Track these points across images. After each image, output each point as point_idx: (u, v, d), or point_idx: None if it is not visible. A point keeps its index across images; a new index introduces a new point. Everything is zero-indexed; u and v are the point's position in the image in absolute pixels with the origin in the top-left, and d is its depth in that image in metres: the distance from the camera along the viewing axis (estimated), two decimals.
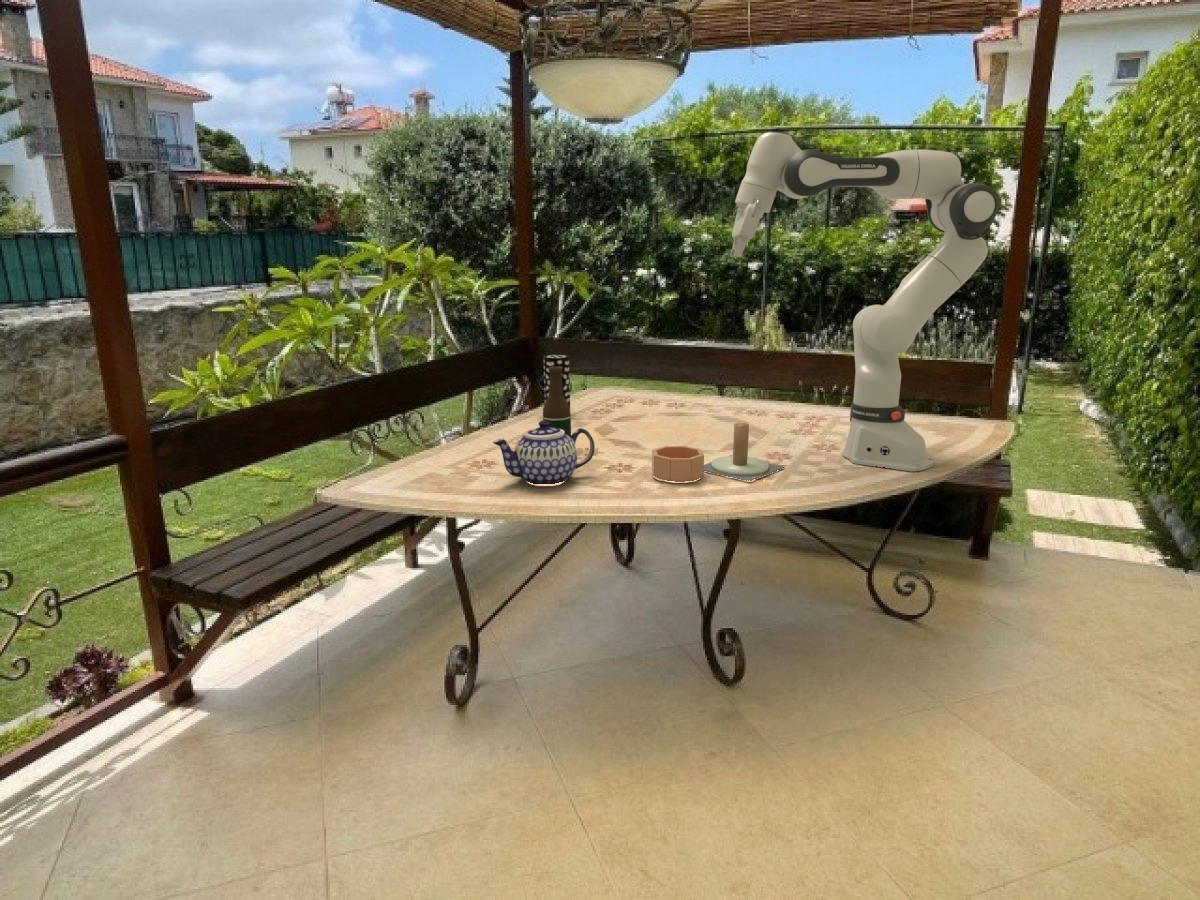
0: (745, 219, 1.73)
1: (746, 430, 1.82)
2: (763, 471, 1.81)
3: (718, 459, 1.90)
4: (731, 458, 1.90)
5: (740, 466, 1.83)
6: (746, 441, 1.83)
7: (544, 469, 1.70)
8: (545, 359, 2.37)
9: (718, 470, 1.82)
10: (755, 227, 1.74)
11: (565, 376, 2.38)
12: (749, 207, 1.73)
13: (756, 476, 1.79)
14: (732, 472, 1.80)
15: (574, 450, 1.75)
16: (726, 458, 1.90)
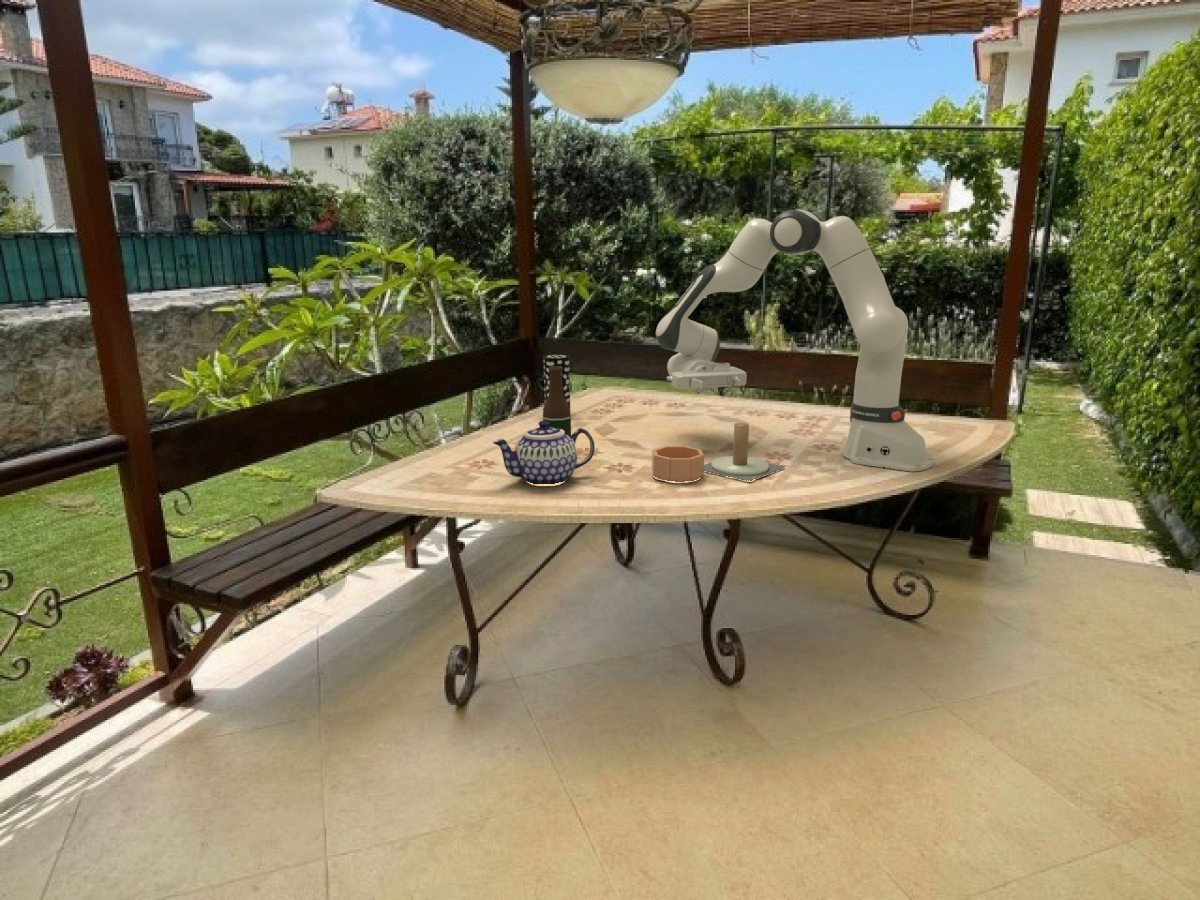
0: (673, 385, 1.98)
1: (746, 430, 1.82)
2: (763, 471, 1.81)
3: (718, 459, 1.89)
4: (731, 458, 1.90)
5: (740, 466, 1.83)
6: (746, 441, 1.83)
7: (544, 469, 1.70)
8: (545, 359, 2.37)
9: (718, 470, 1.82)
10: (674, 376, 1.96)
11: (565, 376, 2.38)
12: None
13: (756, 476, 1.79)
14: (732, 472, 1.80)
15: (574, 450, 1.75)
16: (726, 458, 1.90)
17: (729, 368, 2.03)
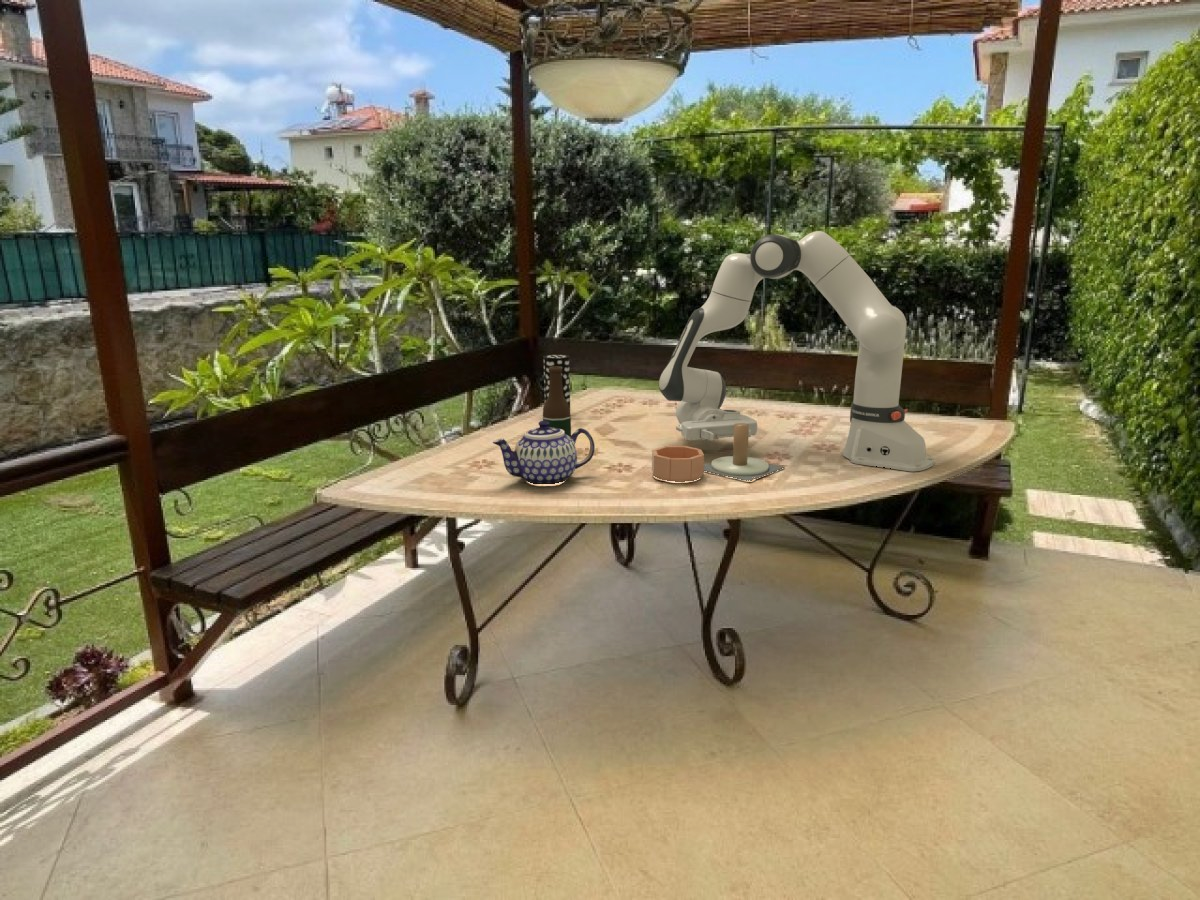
0: (683, 436, 1.95)
1: (746, 430, 1.82)
2: (763, 471, 1.81)
3: (718, 459, 1.90)
4: (731, 458, 1.90)
5: (740, 466, 1.83)
6: (746, 441, 1.83)
7: (544, 469, 1.70)
8: (545, 359, 2.37)
9: (718, 470, 1.82)
10: (684, 427, 1.93)
11: (565, 376, 2.38)
12: None
13: (756, 476, 1.79)
14: (732, 472, 1.80)
15: (574, 450, 1.75)
16: (726, 458, 1.90)
17: (739, 416, 2.00)
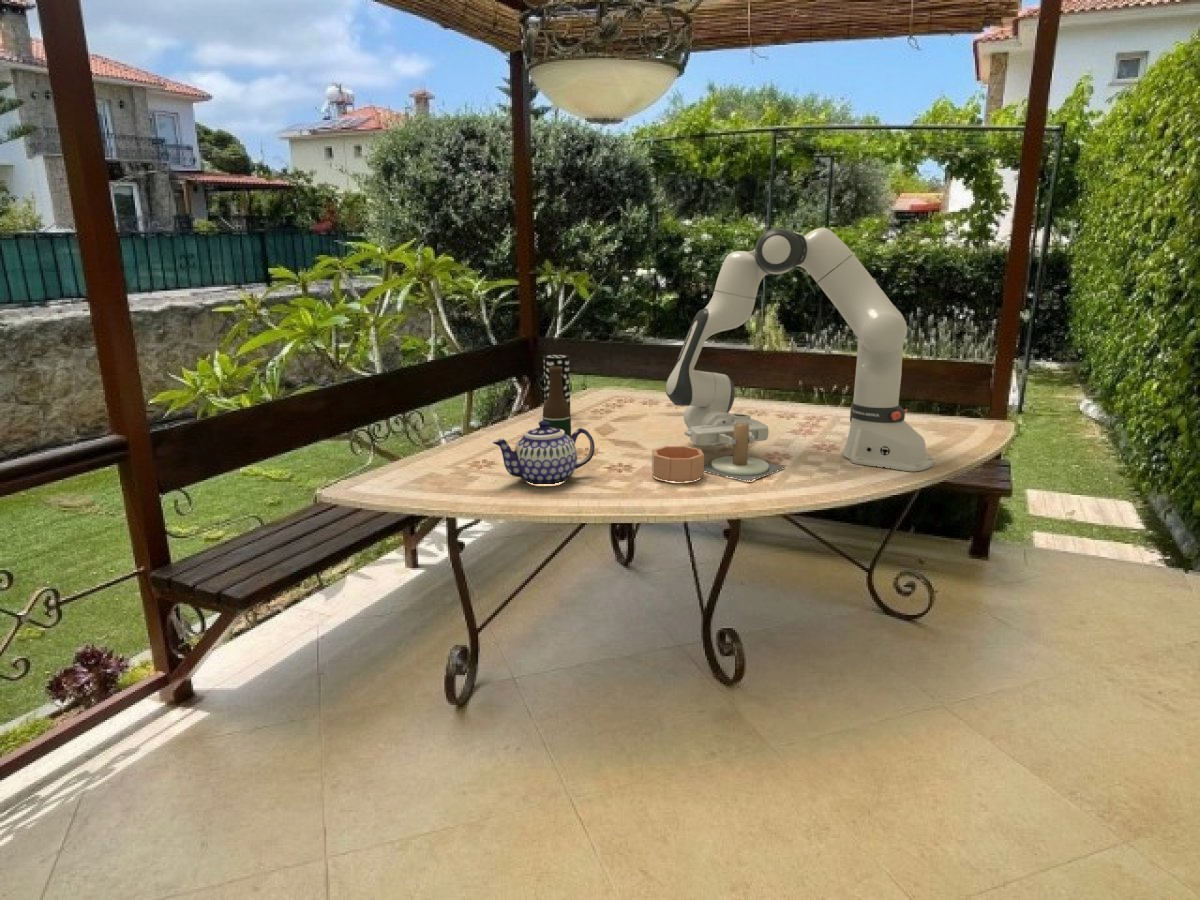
0: (692, 441, 1.89)
1: (746, 430, 1.82)
2: (763, 471, 1.81)
3: (718, 459, 1.90)
4: (731, 458, 1.90)
5: (740, 466, 1.83)
6: (746, 441, 1.83)
7: (544, 469, 1.70)
8: (545, 359, 2.37)
9: (718, 470, 1.82)
10: (693, 432, 1.87)
11: (565, 376, 2.38)
12: None
13: (756, 476, 1.79)
14: (732, 472, 1.80)
15: (574, 450, 1.75)
16: (726, 458, 1.90)
17: (750, 421, 1.94)
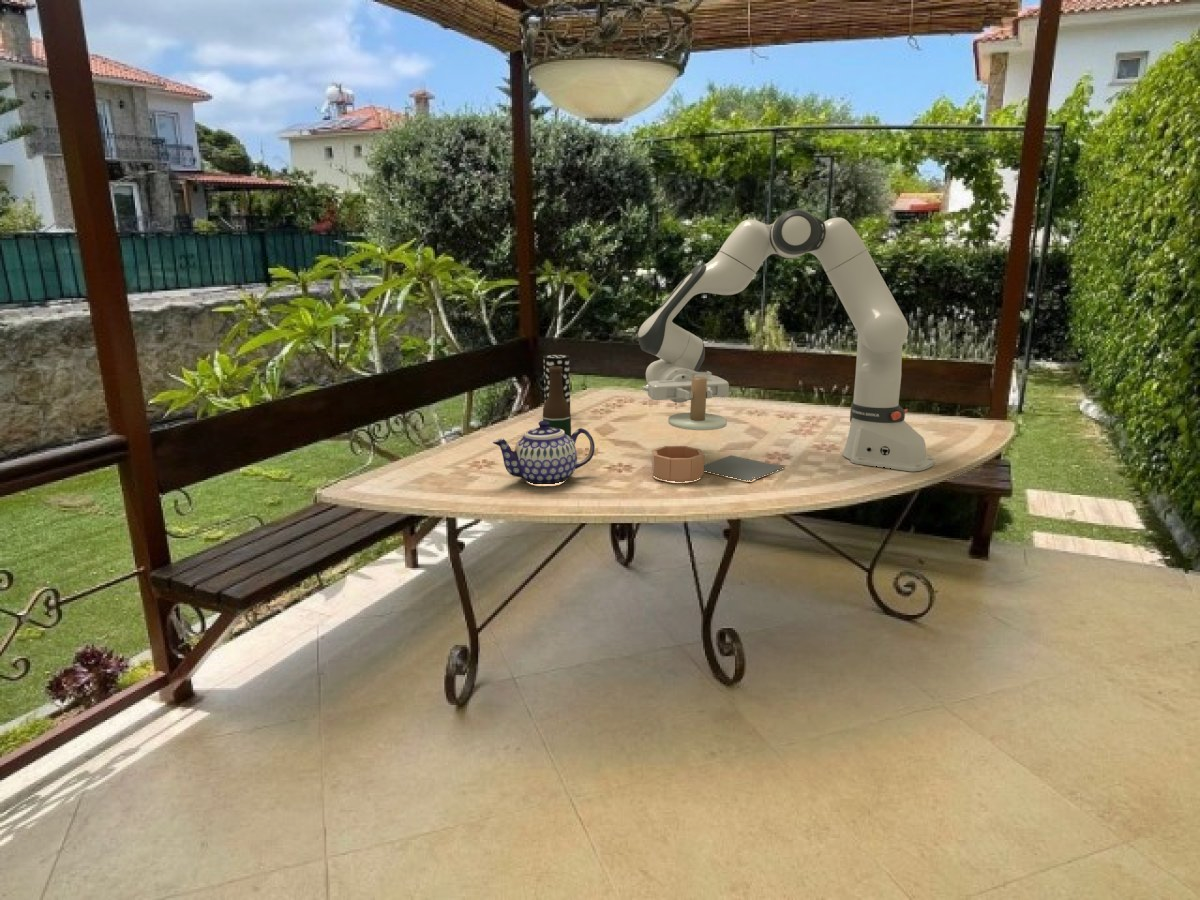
0: (649, 396, 1.82)
1: (704, 384, 1.76)
2: (720, 426, 1.75)
3: (676, 415, 1.83)
4: (690, 414, 1.84)
5: (697, 421, 1.77)
6: (704, 395, 1.77)
7: (544, 469, 1.70)
8: (545, 359, 2.37)
9: (674, 425, 1.76)
10: (650, 385, 1.81)
11: (565, 376, 2.38)
12: None
13: (756, 476, 1.79)
14: (688, 426, 1.74)
15: (574, 450, 1.75)
16: (684, 414, 1.84)
17: (710, 377, 1.88)
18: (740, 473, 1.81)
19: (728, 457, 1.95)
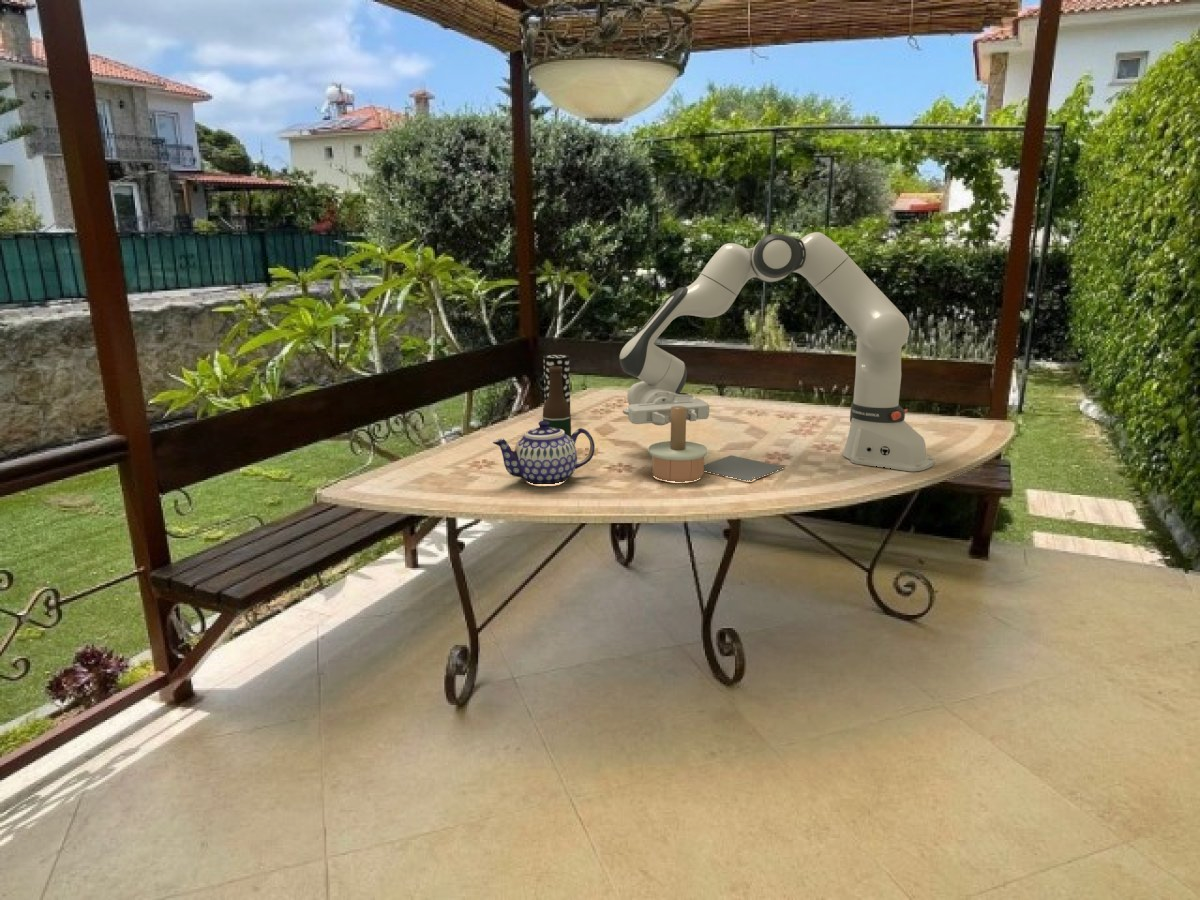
0: (629, 420, 1.82)
1: (683, 413, 1.75)
2: (700, 456, 1.74)
3: (657, 444, 1.83)
4: (670, 443, 1.84)
5: (677, 451, 1.77)
6: (683, 425, 1.76)
7: (544, 469, 1.70)
8: (545, 359, 2.37)
9: (654, 455, 1.76)
10: (630, 409, 1.80)
11: (565, 376, 2.38)
12: None
13: (756, 476, 1.79)
14: (667, 456, 1.73)
15: (574, 450, 1.75)
16: (665, 443, 1.83)
17: (691, 399, 1.87)
18: (740, 473, 1.81)
19: (728, 457, 1.95)
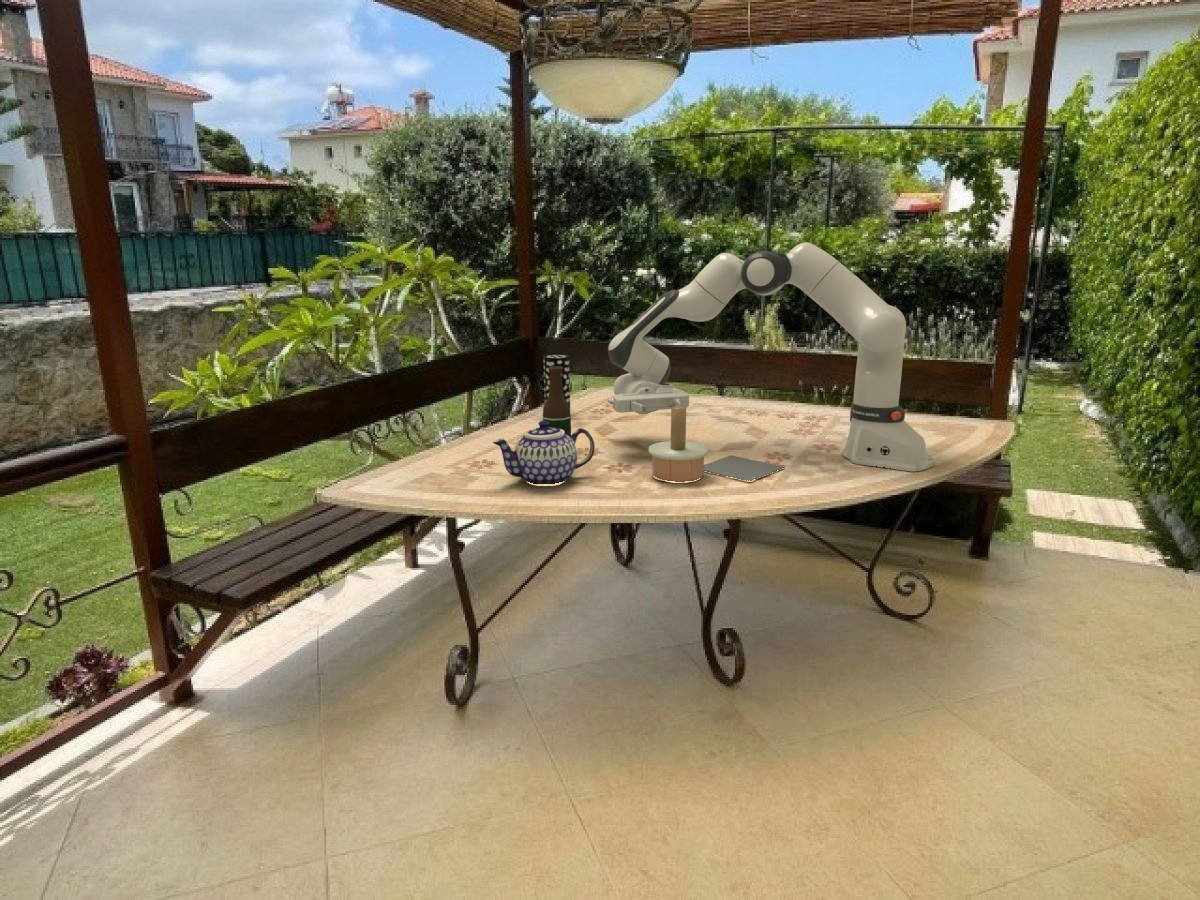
0: (614, 409, 1.94)
1: (683, 413, 1.75)
2: (700, 456, 1.74)
3: (657, 444, 1.83)
4: (670, 443, 1.84)
5: (677, 451, 1.77)
6: (683, 425, 1.76)
7: (544, 469, 1.70)
8: (545, 359, 2.37)
9: (654, 455, 1.76)
10: (614, 399, 1.92)
11: (565, 376, 2.38)
12: None
13: (756, 476, 1.79)
14: (667, 456, 1.73)
15: (574, 450, 1.75)
16: (665, 443, 1.83)
17: (672, 390, 2.00)
18: (740, 473, 1.81)
19: (728, 457, 1.95)
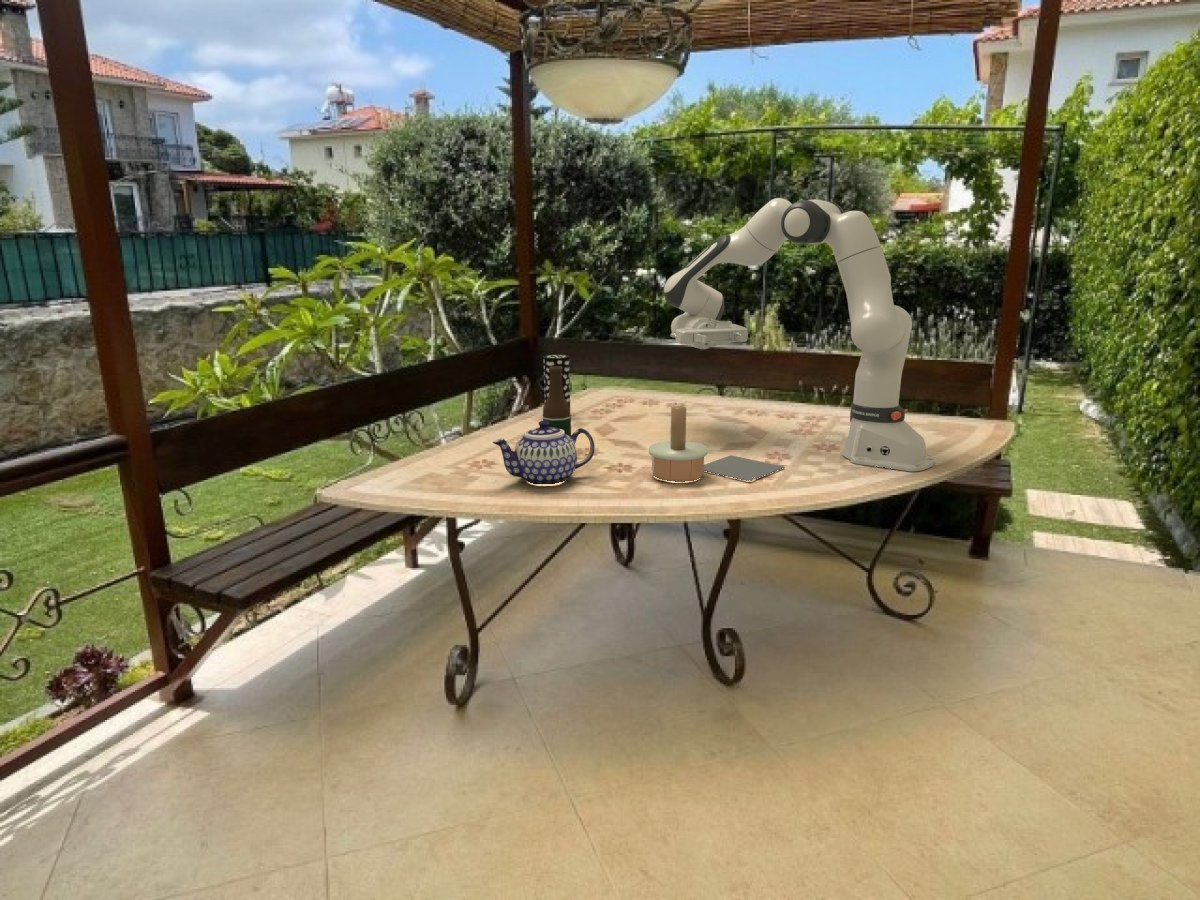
0: (677, 341, 2.05)
1: (683, 413, 1.75)
2: (700, 456, 1.74)
3: (657, 444, 1.83)
4: (670, 443, 1.84)
5: (677, 451, 1.77)
6: (683, 425, 1.76)
7: (544, 469, 1.70)
8: (545, 359, 2.37)
9: (654, 455, 1.76)
10: (678, 332, 2.03)
11: (565, 376, 2.38)
12: None
13: (756, 476, 1.79)
14: (667, 456, 1.73)
15: (574, 450, 1.75)
16: (665, 443, 1.83)
17: (731, 325, 2.10)
18: (740, 473, 1.81)
19: (728, 457, 1.95)
